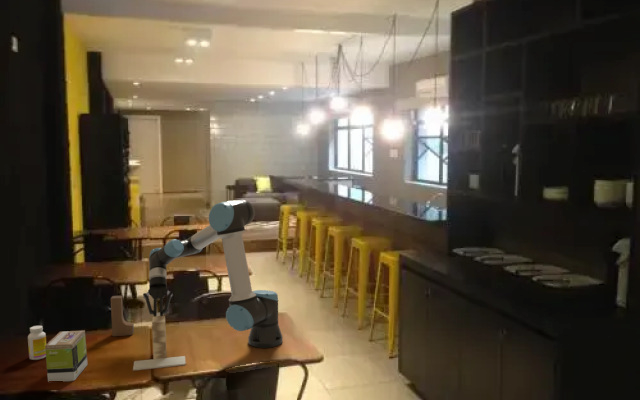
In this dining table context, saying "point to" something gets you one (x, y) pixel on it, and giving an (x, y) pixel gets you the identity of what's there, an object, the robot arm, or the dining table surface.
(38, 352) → the supplement bottle
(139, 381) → the dining table surface
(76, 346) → the tea box
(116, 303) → the wooden block
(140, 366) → the mat
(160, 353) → the block
